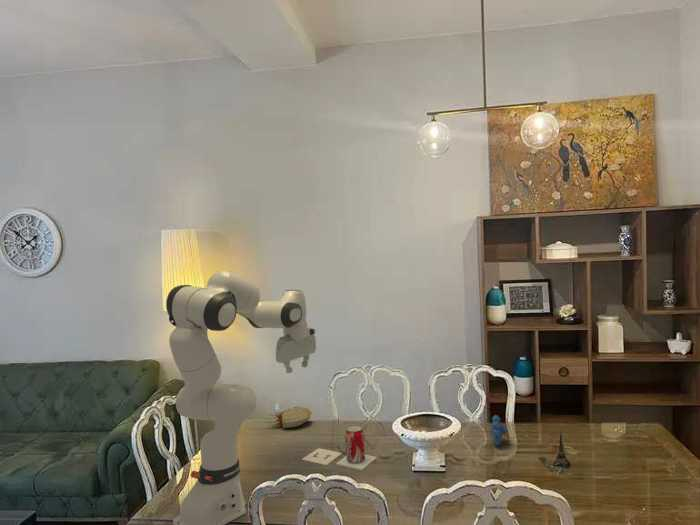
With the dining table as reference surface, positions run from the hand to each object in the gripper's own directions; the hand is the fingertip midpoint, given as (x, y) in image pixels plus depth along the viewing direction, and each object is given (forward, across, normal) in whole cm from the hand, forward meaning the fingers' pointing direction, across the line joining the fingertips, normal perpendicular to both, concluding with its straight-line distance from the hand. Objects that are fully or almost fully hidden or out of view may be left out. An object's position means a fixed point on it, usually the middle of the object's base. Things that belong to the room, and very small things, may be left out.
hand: (297, 369), depth 189 cm
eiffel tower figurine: (+35, +37, -85) cm, 99 cm away
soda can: (+34, +8, -19) cm, 40 cm away
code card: (+34, +6, -5) cm, 35 cm away
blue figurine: (+34, +44, -62) cm, 84 cm away
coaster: (+34, +8, -19) cm, 40 cm away
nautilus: (+34, +27, +27) cm, 52 cm away
